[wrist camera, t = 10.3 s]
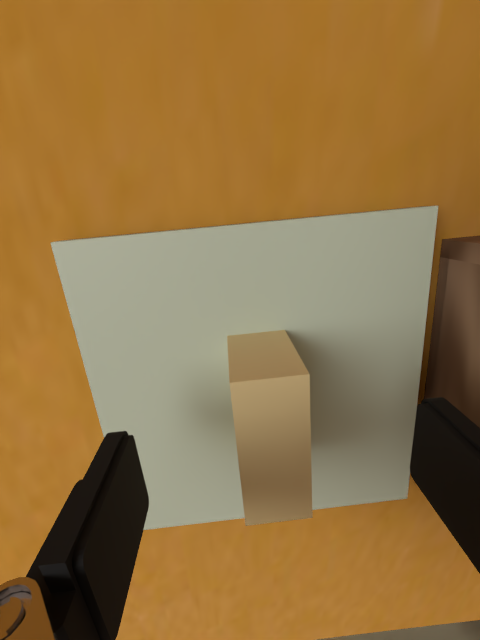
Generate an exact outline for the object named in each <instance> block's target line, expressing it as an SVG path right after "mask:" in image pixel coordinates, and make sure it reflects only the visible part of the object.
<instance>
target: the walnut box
mask: <svg viewBox="0 0 480 640" xmlns="http://www.w3.org/2000/svg"><path fill="white" fill-rule="evenodd" d="M438 397H443V398H445V399H446V400H448V401H449V402H450V403H451V404H452V405H453V406H455V407H456V408H457V409H458V410H459V411H461V412H462V413H463V414H464V415H465V416H466V417H468V418H469V419H470V420H471V421H472V422H473V423H475V424H476V425H477V426H478V427H479V428H480V236H473V237H462V238H452V239H442V248H441V256H440V265H439V274H438V282H437V291H436V300H435V309H434V317H433V326H432V335H431V344H430V352H429V361H428V370H427V379H426V387H425V396H424V399H428V398H438Z"/></svg>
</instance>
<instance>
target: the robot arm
mask: <svg viewBox="0 0 480 640" xmlns="http://www.w3.org/2000/svg"><path fill="white" fill-rule="evenodd" d="M410 473H411V476H412V478H413V480H414V481H415V483H416V484H417V485H418V487H419V488H420V490H421V491H422V492H423V494H424V495H425V497H426V498H427V500H428V501H429V502H430V504H431V505H432V507H433V508H434V509H435V511H436V512H437V514H438V515H439V516H440V518H441V519H442V521H443V522H444V524H445V525H446V526H447V528H448V529H449V531H450V532H451V533H452V535H453V536H454V538H455V539H456V541H457V542H458V543H459V545H460V546H461V548H462V549H463V550H464V552H465V553H466V555H467V556H468V558H469V559H470V560H471V562H472V563H473V565H474V566H475V567H476V569H477V570H478V572H479V573H480V428H479V427H478V426H477V425H476V424H475V423H473V422H472V421H471V420H470V419H469V418H468V417H466V416H465V415H464V414H463V413H462V412H461V411H459V410H458V409H457V408H456V407H455V406H453V405H452V404H451V403H450V402H449V401H448V400H446V399H445V398H443V397H438V398H428V399H423V400H422V402H421V404H419V405H418V406H417V411H416V419H415V428H414V436H413V444H412V452H411V461H410ZM148 508H149V496H148V492H147V488H146V484H145V480H144V476H143V472H142V468H141V463H140V459H139V455H138V451H137V447H136V443H135V439H134V436H133V435H128V433H127V431H119V432H110V433H107V434H106V436H105V438H104V439H103V441H102V443H101V445H100V447H99V449H98V451H97V453H96V455H95V457H94V459H93V461H92V463H91V465H90V467H89V469H88V471H87V472H86V474H85V476H84V478H83V480H79V481H78V482H77V483H76V485H75V486H74V488H73V489H72V491H71V493H70V495H69V497H68V499H67V501H66V502H65V504H64V506H63V508H62V510H61V512H60V514H59V516H58V517H57V519H56V521H55V523H54V525H53V527H52V529H51V531H50V532H49V534H48V536H47V538H46V540H45V542H44V544H43V546H42V547H41V549H40V551H39V553H38V555H37V557H36V559H35V561H34V562H33V564H32V566H31V568H30V570H29V572H28V574H27V575H26V577H19V578H16V579H13V580H9V581H7V582H5V583H3V584H2V585H0V640H115V639H116V637H117V634H118V630H119V626H120V622H121V618H122V614H123V610H124V606H125V602H126V598H127V594H128V590H129V586H130V582H131V577H132V573H133V569H134V565H135V561H136V557H137V553H138V549H139V545H140V541H141V537H142V533H143V529H144V525H145V521H146V517H147V513H148ZM318 640H480V620H477V621H468V622H460V623H451V624H442V625H434V626H425V627H416V628H408V629H400V630H391V631H383V632H375V633H367V634H358V635H350V636H342V637H334V638H326V639H318Z"/></svg>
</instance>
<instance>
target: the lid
mask: <svg viewBox="0 0 480 640" xmlns="http://www.w3.org/2000/svg"><path fill="white" fill-rule="evenodd" d="M437 213H438V206H423V207H412V208H401V209H391V210H380V211H370V212H359V213H349V214H338V215H328V216H317V217H306V218H296V219H285V220H275V221H264V222H254V223H243V224H232V225H222V226H211V227H201V228H190V229H180V230H169V231H159V232H148V233H137V234H127V235H116V236H106V237H95V238H85V239H74V240H63V241H57V242H51V246H52V250H53V254H54V257H55V261H56V264H57V268H58V272H59V275H60V279H61V283H62V286H63V290H64V294H65V297H66V301H67V305H68V308H69V312H70V315H71V319H72V323H73V326H74V330H75V334H76V337H77V341H78V345H79V348H80V352H81V355H82V359H83V363H84V366H85V370H86V374H87V377H88V381H89V385H90V388H91V392H92V395H93V399H94V403H95V406H96V410H97V414H98V417H99V421H100V425H101V428H102V432H103V435H104V438H105V436H106V434H107V433H110V432H119V431H127V433H128V435H133V436H134V439H135V443H136V447H137V451H138V455H139V459H140V463H141V468H142V472H143V476H144V480H145V484H146V488H147V492H148V496H149V508H148V513H147V517H146V521H145V525H144V529H143V530H148V529H156V528H164V527H173V526H181V525H189V524H198V523H206V522H214V521H223V520H231V519H240V518H245V525H246V526H247V525H256V524H264V523H272V522H281V521H289V520H297V519H306V518H312V510H315V509H323V508H332V507H340V506H348V505H357V504H365V503H373V502H382V501H390V500H399V499H407V495H408V486H409V476H410V461H411V452H412V444H413V436H414V428H415V419H416V411H417V401H418V392H419V383H420V373H421V364H422V354H423V345H424V336H425V326H426V317H427V307H428V298H429V289H430V279H431V270H432V260H433V251H434V242H435V232H436V223H437Z"/></svg>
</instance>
